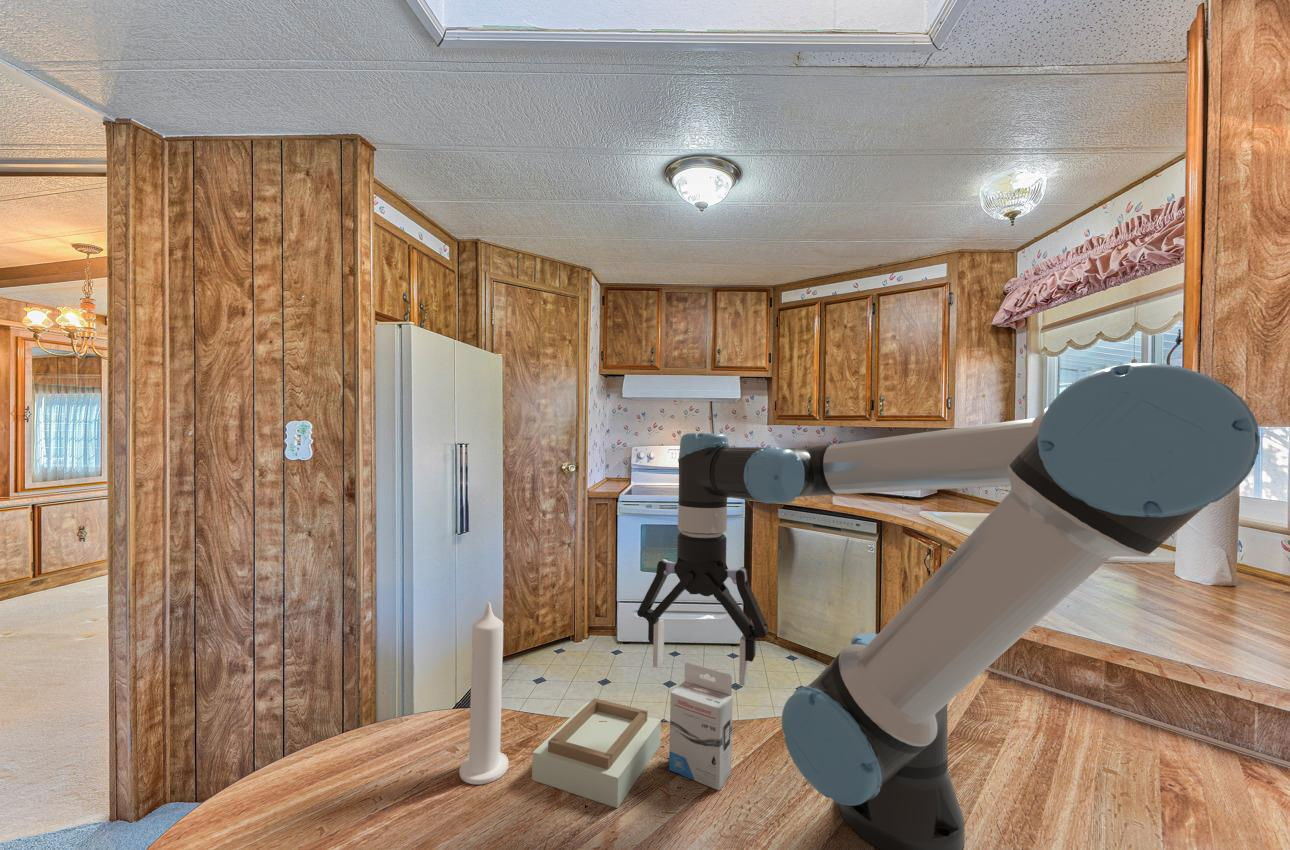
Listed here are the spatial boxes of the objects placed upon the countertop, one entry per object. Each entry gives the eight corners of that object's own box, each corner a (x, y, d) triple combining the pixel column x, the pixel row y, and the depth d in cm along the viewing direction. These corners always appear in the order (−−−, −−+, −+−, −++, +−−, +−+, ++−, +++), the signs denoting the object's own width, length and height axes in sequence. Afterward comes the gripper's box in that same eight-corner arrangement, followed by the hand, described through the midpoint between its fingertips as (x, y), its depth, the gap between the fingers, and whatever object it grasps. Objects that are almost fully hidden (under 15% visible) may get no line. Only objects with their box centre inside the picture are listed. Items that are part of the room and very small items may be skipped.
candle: (494, 788, 72) (498, 611, 73) (449, 781, 73) (454, 607, 74) (516, 758, 79) (520, 597, 80) (475, 752, 80) (479, 593, 81)
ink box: (667, 771, 77) (668, 672, 77) (682, 754, 81) (683, 660, 81) (719, 792, 72) (720, 687, 73) (732, 773, 76) (733, 674, 77)
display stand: (660, 744, 83) (660, 710, 83) (617, 808, 68) (618, 766, 69) (586, 725, 89) (587, 693, 89) (532, 779, 74) (532, 741, 74)
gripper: (788, 536, 76) (786, 678, 76) (638, 522, 86) (635, 648, 86) (781, 545, 69) (779, 701, 69) (618, 529, 79) (615, 666, 79)
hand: (699, 672), depth 77 cm, fingers open, 13 cm apart
